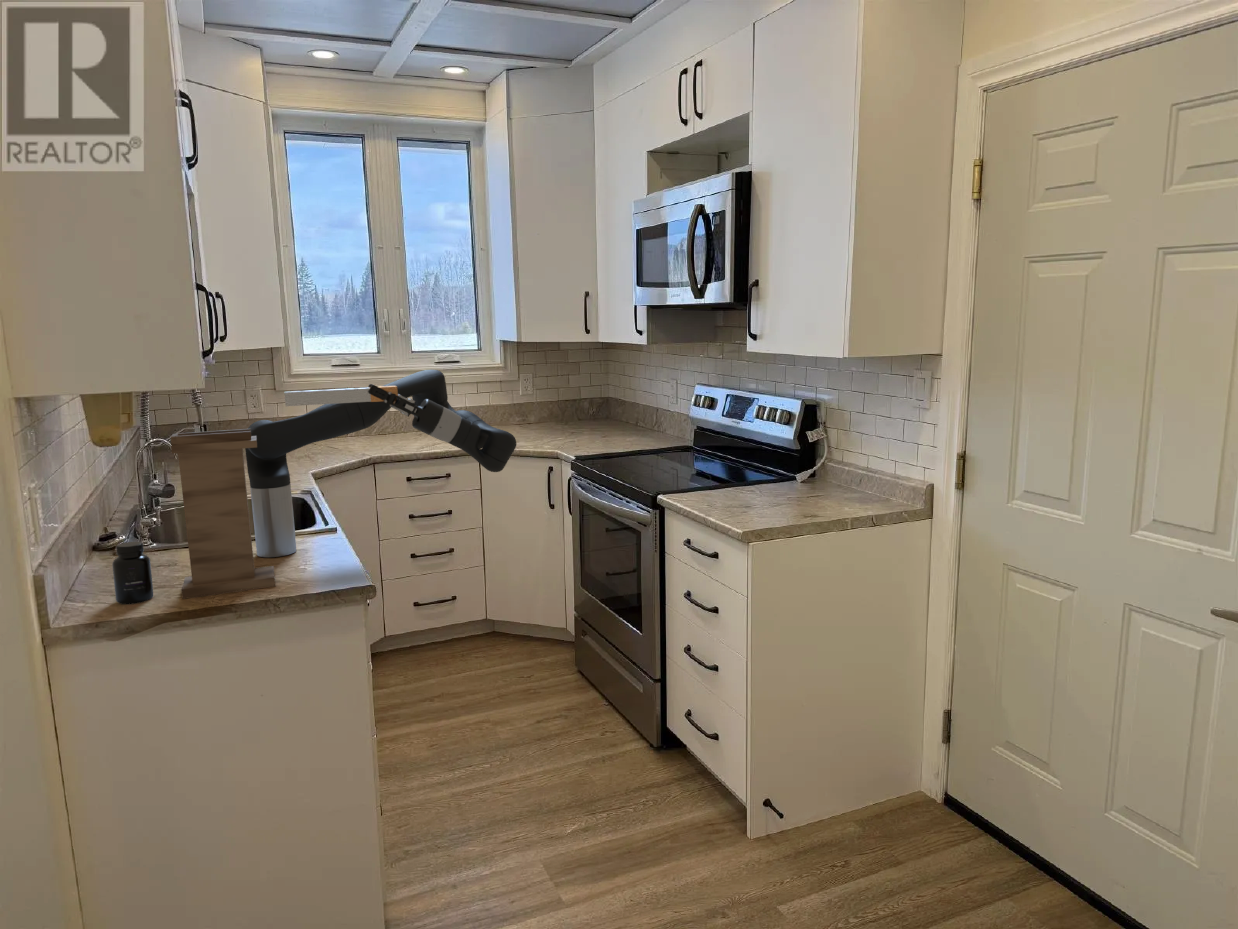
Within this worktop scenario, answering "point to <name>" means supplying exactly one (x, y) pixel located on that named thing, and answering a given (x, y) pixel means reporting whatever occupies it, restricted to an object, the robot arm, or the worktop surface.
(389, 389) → the grey and tan bar
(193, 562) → the post
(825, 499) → the worktop surface
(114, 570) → the supplement bottle
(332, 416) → the robot arm
